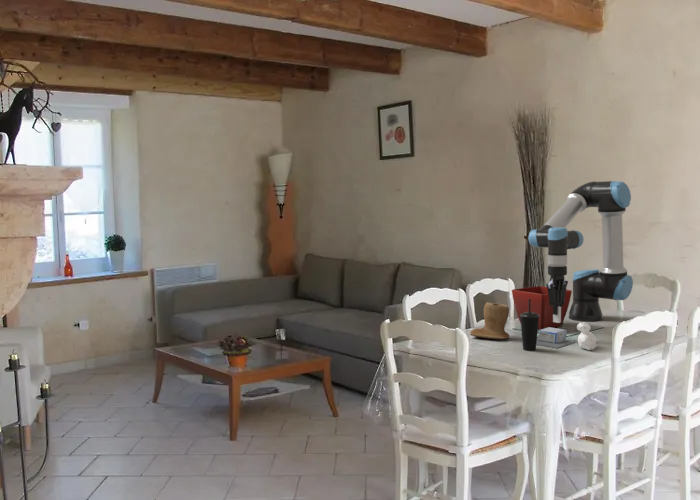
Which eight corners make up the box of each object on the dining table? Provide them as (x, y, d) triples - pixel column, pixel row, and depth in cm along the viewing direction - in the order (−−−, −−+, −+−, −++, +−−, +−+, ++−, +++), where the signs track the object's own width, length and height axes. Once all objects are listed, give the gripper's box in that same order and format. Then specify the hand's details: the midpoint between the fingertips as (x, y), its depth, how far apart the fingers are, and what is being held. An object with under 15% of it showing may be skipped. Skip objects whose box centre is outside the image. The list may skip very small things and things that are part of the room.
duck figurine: (589, 350, 275) (571, 326, 278) (605, 340, 272) (587, 316, 274) (583, 357, 265) (564, 332, 267) (599, 346, 261) (581, 322, 264)
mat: (539, 336, 290) (539, 336, 290) (574, 342, 279) (574, 341, 279) (522, 342, 282) (522, 341, 282) (557, 348, 270) (557, 347, 270)
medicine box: (549, 337, 288) (538, 340, 282) (549, 326, 288) (538, 330, 282) (566, 339, 282) (555, 343, 276) (566, 329, 282) (555, 332, 276)
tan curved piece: (513, 336, 292) (513, 301, 291) (503, 342, 282) (503, 306, 281) (480, 333, 300) (480, 299, 299) (469, 338, 290) (469, 303, 289)
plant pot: (539, 320, 324) (539, 285, 322) (572, 327, 308) (572, 290, 307) (510, 326, 314) (510, 289, 312) (543, 333, 298) (543, 294, 296)
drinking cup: (520, 351, 266) (520, 300, 264) (518, 347, 274) (518, 297, 272) (540, 351, 265) (541, 300, 263) (538, 347, 273) (538, 297, 271)
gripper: (557, 263, 289) (557, 318, 291) (540, 266, 280) (540, 323, 282) (574, 264, 283) (573, 321, 285) (557, 267, 274) (556, 325, 277)
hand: (556, 322), depth 284 cm, fingers closed
